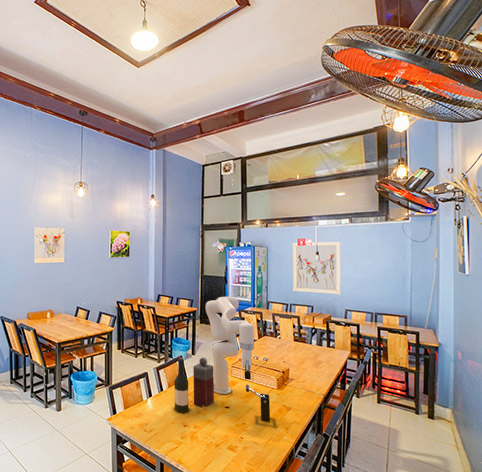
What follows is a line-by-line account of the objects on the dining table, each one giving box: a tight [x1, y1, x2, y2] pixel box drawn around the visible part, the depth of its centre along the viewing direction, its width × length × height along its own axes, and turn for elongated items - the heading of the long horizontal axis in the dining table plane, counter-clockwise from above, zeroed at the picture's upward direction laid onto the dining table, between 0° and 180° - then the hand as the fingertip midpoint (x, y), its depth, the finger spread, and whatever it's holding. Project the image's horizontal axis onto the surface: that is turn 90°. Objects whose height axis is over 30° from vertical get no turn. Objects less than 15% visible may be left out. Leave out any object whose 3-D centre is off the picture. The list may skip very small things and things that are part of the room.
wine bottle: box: [174, 357, 190, 414], centre depth 186 cm, size 8×8×30 cm
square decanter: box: [192, 357, 215, 408], centre depth 193 cm, size 9×11×28 cm
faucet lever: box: [245, 384, 266, 398], centre depth 174 cm, size 12×6×2 cm, turn 69°
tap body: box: [259, 393, 271, 423], centre depth 172 cm, size 9×8×14 cm
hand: (247, 378), depth 176 cm, fingers closed
